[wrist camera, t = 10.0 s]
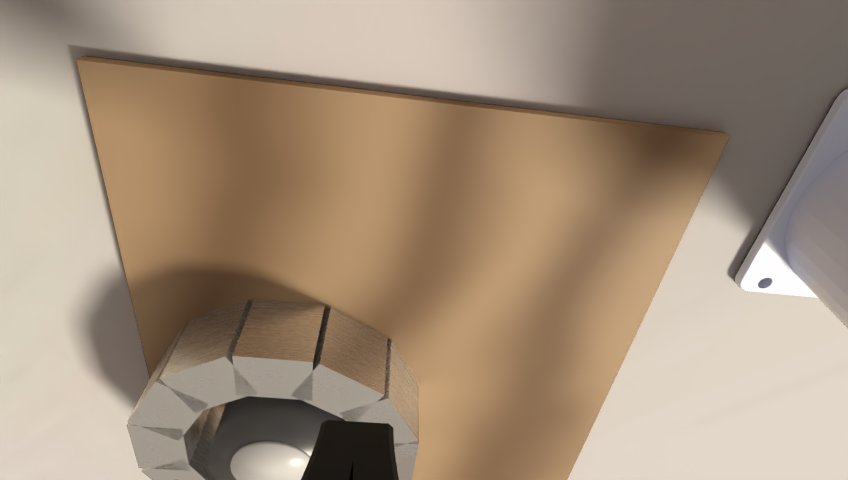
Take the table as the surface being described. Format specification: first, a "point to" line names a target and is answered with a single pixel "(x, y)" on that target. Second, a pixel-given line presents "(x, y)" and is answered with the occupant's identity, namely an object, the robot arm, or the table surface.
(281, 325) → the grey faceted ring
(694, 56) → the table surface
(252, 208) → the board
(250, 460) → the cap
